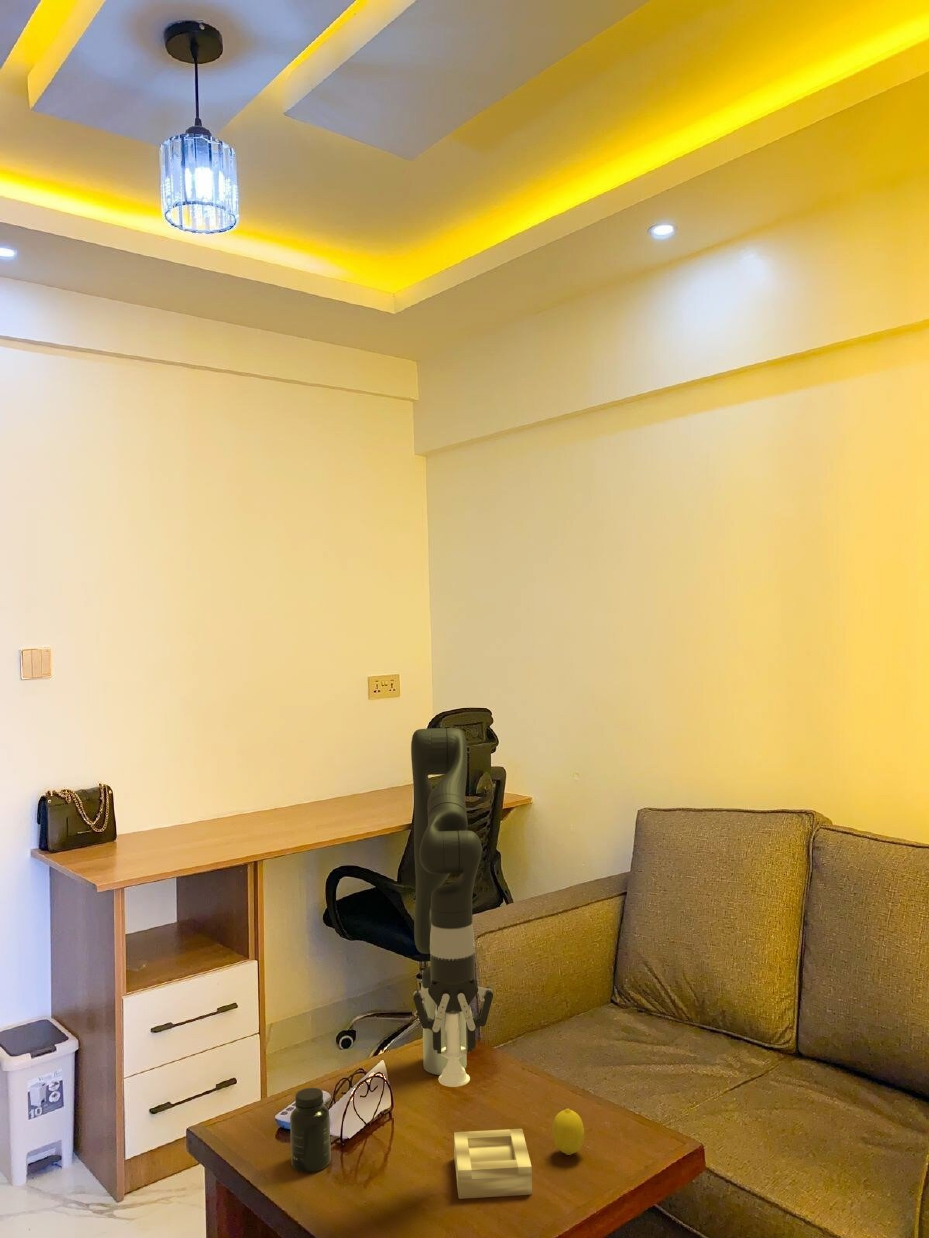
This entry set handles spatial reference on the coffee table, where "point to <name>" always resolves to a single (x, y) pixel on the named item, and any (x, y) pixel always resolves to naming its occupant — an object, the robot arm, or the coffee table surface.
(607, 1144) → the coffee table surface
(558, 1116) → the lemon
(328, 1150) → the supplement bottle
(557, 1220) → the coffee table surface
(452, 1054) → the candle
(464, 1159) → the birch plinth
